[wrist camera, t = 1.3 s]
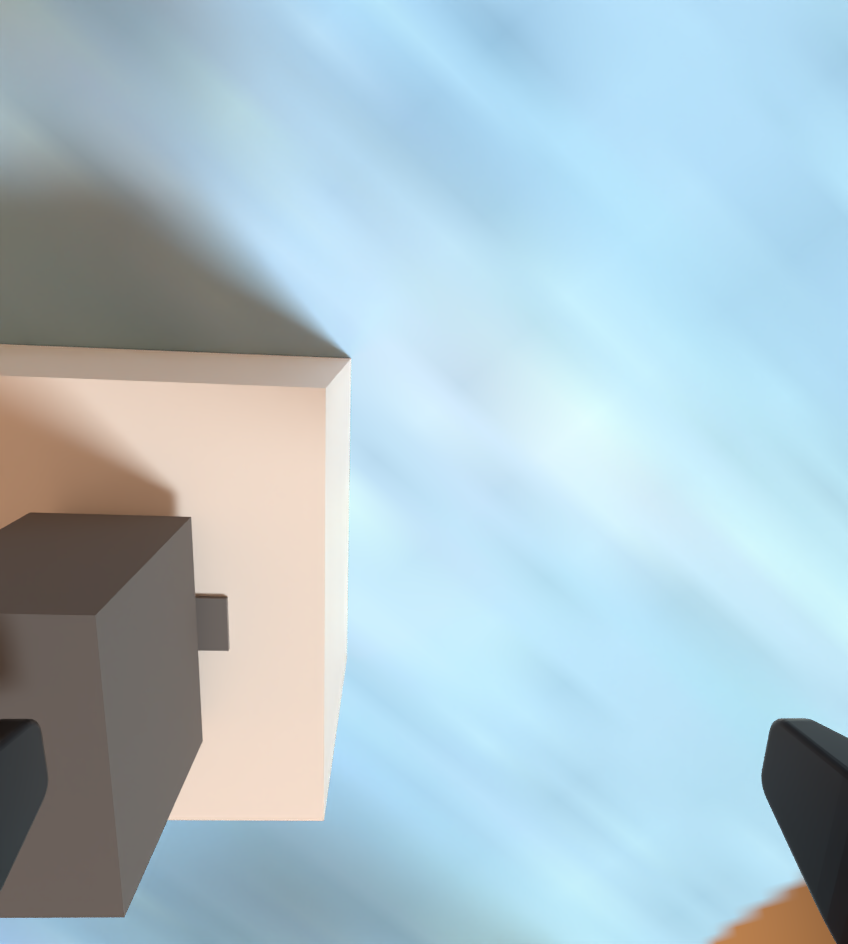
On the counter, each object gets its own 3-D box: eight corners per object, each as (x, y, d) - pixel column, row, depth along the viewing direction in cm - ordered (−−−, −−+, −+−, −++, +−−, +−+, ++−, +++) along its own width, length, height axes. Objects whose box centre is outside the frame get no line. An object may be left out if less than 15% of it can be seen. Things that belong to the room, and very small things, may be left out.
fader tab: (206, 733, 14) (124, 916, 10) (63, 731, 14) (-83, 917, 9) (195, 512, 12) (95, 615, 8) (37, 508, 12) (-145, 610, 8)
